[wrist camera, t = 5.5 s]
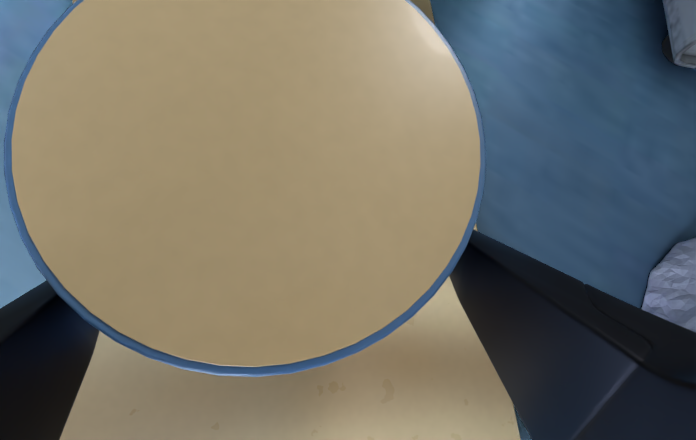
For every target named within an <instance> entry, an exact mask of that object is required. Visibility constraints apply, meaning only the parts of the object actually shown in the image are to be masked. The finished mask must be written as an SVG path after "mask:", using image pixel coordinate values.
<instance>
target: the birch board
mask: <svg viewBox="0 0 696 440" xmlns="http://www.w3.org/2000/svg"><path fill="white" fill-rule="evenodd" d="M76 1H77V0H73V3H75V2H76ZM410 1H412V2H413V3H414V4H415V5H416V6H417V7H419V8H420V9H421V10H422V12H423V13H424V14H425V15H426V16H427V17H428V18H429V19H430V20H431V21H432V22H433V23H434V24H435V22H434V17H433V12H432V7H431V2H430V0H410ZM473 229H474V230H476V231H478V230H477V225H476V223H475V226H474V228H473ZM60 440H521V439H520V434H519V429H518V424H517V419H516V415H515V410H514V405H513V402H512V400H511V399H510V397H509V395H508V393H507V391H506V389H505V387H504V385H503V383H502V381H501V380H500V378H499V376H498V374H497V372H496V370H495V368H494V366H493V364H492V363H491V361H490V359H489V357H488V355H487V353H486V351H485V349H484V347H483V345H482V344H481V342H480V340H479V338H478V336H477V334H476V332H475V330H474V328H473V326H472V325H471V323H470V321H469V319H468V317H467V315H466V313H465V311H464V309H463V307H462V305H461V303H460V301H459V299H458V297H457V295H456V292H455V290H454V287H453V285H452V282H451V279H450V277H448V278H447V279H446V281H445V282H444V283H443V285H442V286H441V287H440V288H439V290H438V291H437V292H436V294H435V295H434V296H433V297H432V298H431V299H430V300H429V301H428V302H427V303H426V304H425V305H424V306H423V307H422V308H421V309H420V310H419V311H418V312H417V313H416V314H415V315H414V316H413V317H412V318H411V319H409V320H408V321H407V322H405V323H404V324H403V325H401V326H400V327H399V328H397V329H396V330H395V331H393V332H392V333H391V334H389V335H388V336H387V337H385V338H383V339H381V340H380V341H378V342H376V343H374V344H372V345H371V346H369V347H367V348H365V349H363V350H362V351H360V352H358V353H356V354H353V355H351V356H348V357H345V358H343V359H340V360H338V361H335V362H333V363H330V364H328V365H325V366H320V367H316V368H312V369H308V370H304V371H300V372H296V373H291V374H281V375H272V376H262V377H240V376H218V375H212V374H207V373H201V372H195V371H189V370H184V369H180V368H177V367H174V366H171V365H168V364H165V363H162V362H159V361H156V360H153V359H150V358H147V357H145V356H143V355H141V354H139V353H137V352H135V351H133V350H131V349H129V348H127V347H125V346H123V345H121V344H119V343H117V342H115V341H114V340H112V339H111V338H109V337H108V336H106V335H105V334H104V333H102V332H101V331H99V335H98V338H97V342H96V346H95V349H94V352H93V355H92V358H91V361H90V363H89V366H88V369H87V371H86V374H85V376H84V379H83V381H82V384H81V386H80V389H79V391H78V394H77V396H76V399H75V402H74V404H73V407H72V409H71V412H70V414H69V417H68V419H67V422H66V424H65V427H64V429H63V432H62V435H61V437H60Z"/></svg>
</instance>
